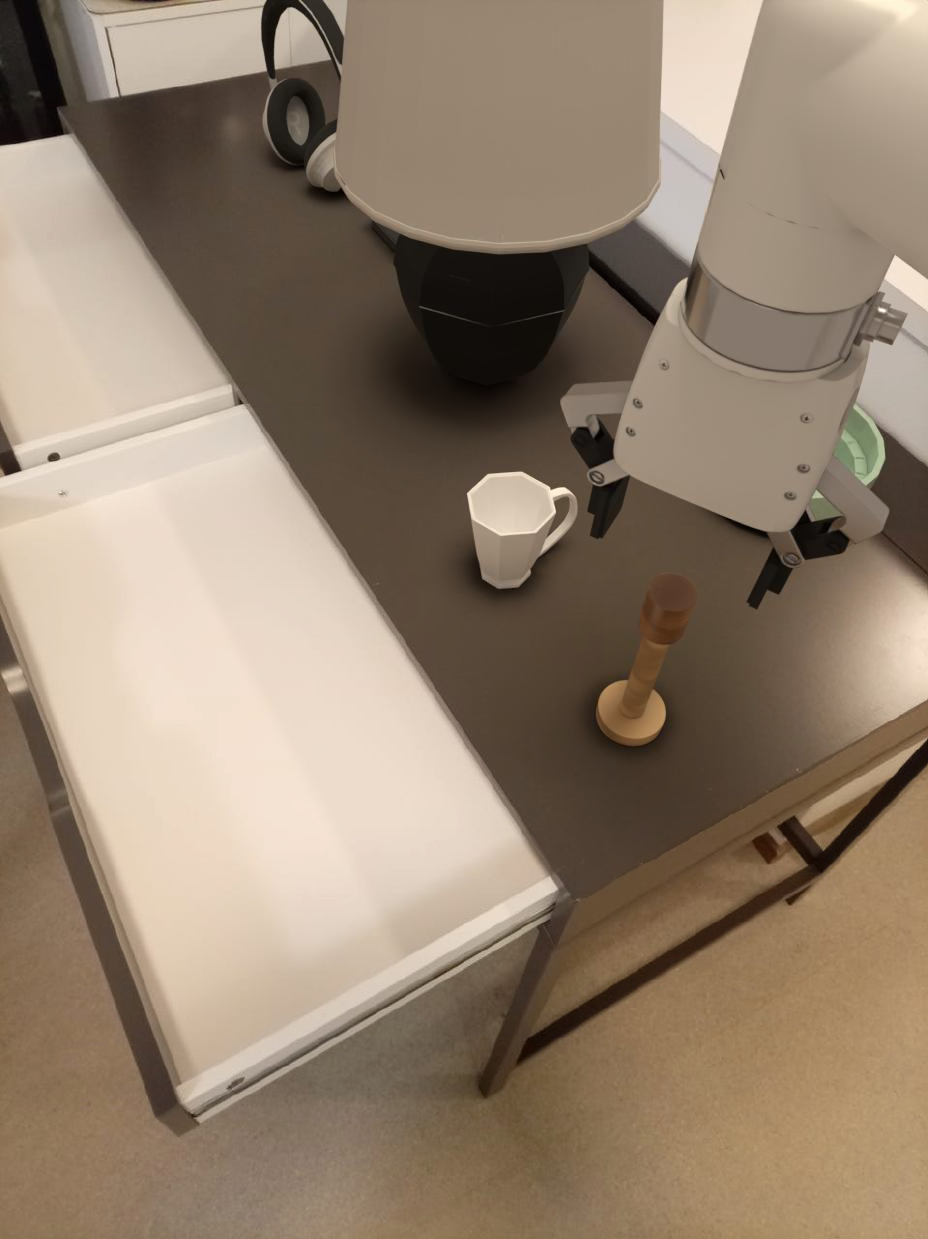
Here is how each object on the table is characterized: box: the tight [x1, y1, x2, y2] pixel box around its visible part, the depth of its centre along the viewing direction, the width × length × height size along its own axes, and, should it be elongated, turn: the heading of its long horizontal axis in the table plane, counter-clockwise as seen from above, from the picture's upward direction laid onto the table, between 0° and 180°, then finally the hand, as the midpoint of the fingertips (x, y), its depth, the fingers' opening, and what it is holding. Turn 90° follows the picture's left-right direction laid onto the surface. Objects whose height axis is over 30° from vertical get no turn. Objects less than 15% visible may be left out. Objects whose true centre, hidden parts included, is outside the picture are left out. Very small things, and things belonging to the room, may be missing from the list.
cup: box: [466, 471, 579, 590], centre depth 72 cm, size 7×10×8 cm
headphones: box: [260, 0, 345, 193], centre depth 103 cm, size 19×8×20 cm, turn 38°
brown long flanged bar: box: [595, 572, 699, 747], centre depth 60 cm, size 5×5×15 cm
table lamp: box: [333, 0, 665, 386], centre depth 74 cm, size 27×27×40 cm
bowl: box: [761, 403, 886, 533], centre depth 79 cm, size 15×15×6 cm
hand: (680, 556), depth 52 cm, fingers open, 9 cm apart
